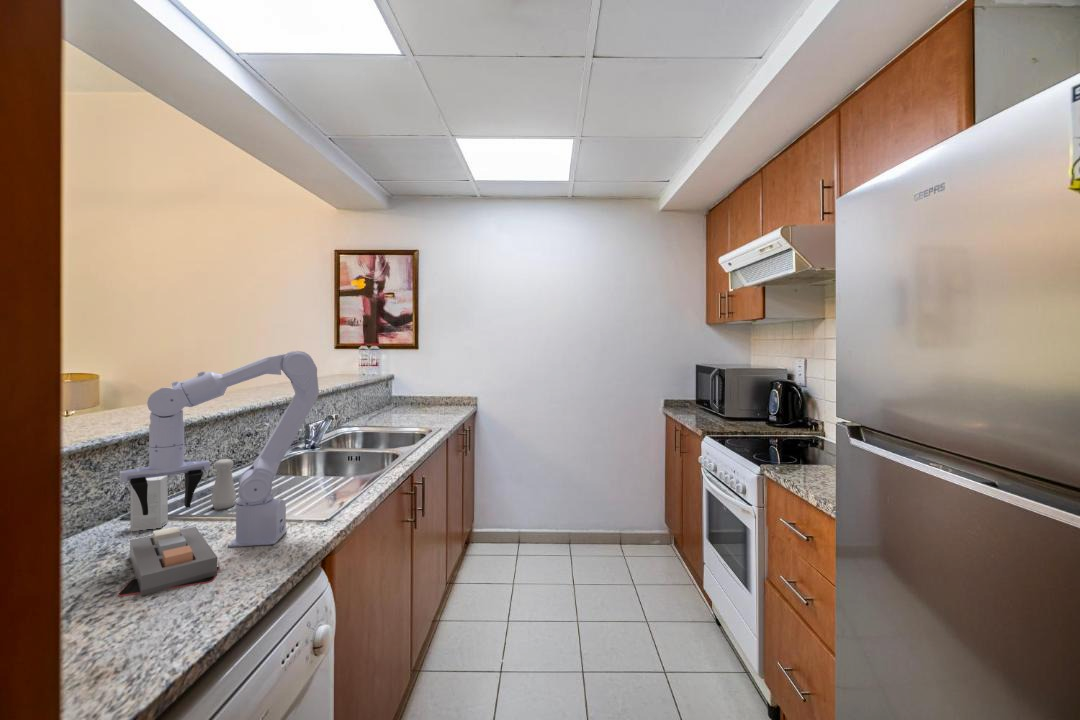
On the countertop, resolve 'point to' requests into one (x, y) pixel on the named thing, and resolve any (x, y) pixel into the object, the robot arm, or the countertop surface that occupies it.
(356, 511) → the countertop surface
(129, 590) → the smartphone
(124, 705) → the countertop surface
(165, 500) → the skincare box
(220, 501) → the salt shaker
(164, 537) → the key cream
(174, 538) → the key slate
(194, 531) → the slotted grey tray
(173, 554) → the key terracotta
